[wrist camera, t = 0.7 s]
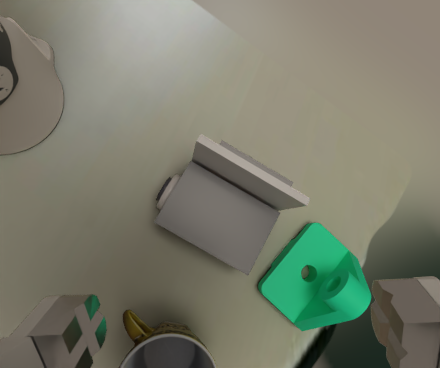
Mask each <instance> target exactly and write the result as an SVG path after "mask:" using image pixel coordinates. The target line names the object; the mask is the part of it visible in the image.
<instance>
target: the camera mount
mask: <svg viewBox="0 0 440 368" xmlns="http://www.w3.org/2000/svg"><path fill="white" fill-rule="evenodd" d="M306 265H307V266H308V268H309V275H308V276H307V277H306V278H305V279H303V278H302V276H301V271H302V269H303V267H304V266H306ZM271 266H272V267H271V269H270V270H269V271H268V272H267V274H266V275H265V276H264V277H263V278H262V280H261V281H260V282H259V285H258V289H259V291H260V293H261V294H262V295H263V296H264V297H266V298H267V299H268V300H269V301H270V302H271V303H272V304H273V305H274V306H275V307H276V308H277V309H278V310H279V311H281V312H282V313H283V314H284V315H285V316H286V317H287V318H288V319H289V320H290V321H291V322H292V323H293V324H294V325H296V326H297V327H298V328H299V329H300V330H301V331H305V330H309V329H314V328H318V327H323V326H327V325H331V324H336V323H340V322H344V321H348V320H353V319H355V318H357V317H359V316H360V315H361V314H362V313H363V312H364V311H365V310H366V309H367V307H368V305H369V303H370V300H371V293H370V290H369V288H368V285H367V283H366V280H365V277H364V275H363V272H362V269H361V267H360V264H359V261H358V259H357V258H356V257H355V256H354V255H353V254H352V253H351V252H350V251H349V250H348V249H347V248H346V247H345V246H344V245H343V244H341V243H340V242H339V241H338V240H337V239H336V238H335V237H334V236H333V235H332V234H331V233H330V232H329V231H328V230H326V229H325V228H324V227H323V226H322V225H321V224H319V223H309V224H307V225H306V226H305V227H304V229H303V230H302V231H301V232H300V233H299V235H298V236H297V237H296V238H295V239H292V240H291V241H290V242H289V244H288V245H287V246H286V247H285V248H284V250H283V251H282V252H281V253H280V255H279V256H278V257H277V258H276V259H275V261H274V262H273V263H272V264H271Z"/></svg>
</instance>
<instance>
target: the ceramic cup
mask: <svg viewBox="0 0 440 368" xmlns="http://www.w3.org/2000/svg"><path fill="white" fill-rule="evenodd" d="M123 322H124V326H125V329H126V331H127V333H128V335H129V337H130V338H131V339H132V340H133V341H134V343H135V346H134V347H133V348H132V349H131V351H130V352H129V353H128V354H127V355H126V357H125V358H124V360H123V361H122V363H121V365H120V366H119V368H217V365H216V363H215V360H214V359H213V357H212V355H211V353H210V352H209V351H208V349H207V348H206V346H205V345H204V344H203V343H202V342H201V341H200V339H199V338H198V337H197V336H196V335H194V334H193V333H192V332H191V331H190V329H189V328H188V327H187V326H186V325H185V324H179V323H173V322H167V321H164V322H163V323H161V324H160V325H158V326H157V327H156V328H151V327H149V326H147V325H146V324H145V323H144V322H143V321H142V320H141V319H140V318H139V317H138V316H137V315H136V314H135V313H134V312H132V311H131V310H126V311H125V312H124V313H123ZM142 330H143V331H144V332H143V331H142Z"/></svg>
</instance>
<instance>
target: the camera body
mask: <svg viewBox="0 0 440 368" xmlns="http://www.w3.org/2000/svg"><path fill="white" fill-rule="evenodd" d="M156 200H158V201H159V202H158V204H157V206H156V208H158V209H160V210H161V211H160V213H159V214H158V216H157V218H156V219H155V221H154V223H156V224H158V225H160V226H162V227H163V228H165V229H167V230H169V231H170V232H172V233H174V234H176V235H177V236H179V237H181V238H183V239H184V240H186V241H188V242H190V243H192V244H193V245H195V246H197V247H199V248H200V249H202V250H204V251H206V252H207V253H209V254H211V255H213V256H214V257H216V258H218V259H220V260H222V261H223V262H225V263H227V264H229V265H230V266H232V267H234V268H236V269H237V270H239V271H241V272H243V273H244V274H246V275H249V273H250V271H251V269H252V267H253V265H254V263H255V261H256V259H257V257H258V255H259V253H260V252H261V250H262V248H263V246H264V244H265V242H266V240H267V238H268V236H269V234H270V232H271V230H272V228H273V226H274V224H275V222H276V220H277V218H278V216H279V214H280V213H279V212H278V211H276V210H274V209H273V208H271V207H269V206H267V205H266V204H264V203H262V202H261V201H259V200H257V199H255V198H254V197H252V196H250V195H249V194H247V193H245V192H243V191H242V190H240V189H238V188H237V187H235V186H233V185H231V184H230V183H228V182H226V181H225V180H223V179H221V178H219V177H218V176H216V175H214V174H212V173H211V172H209V171H207V170H206V169H204V168H202V167H200V166H199V165H197V164H195V163H194V162H192V161H190V163H189V164H188V166H187V168H186V169H185V171H184V173H183V174H182V176H180V175H178V174H175V175H174V177H173V178H170V177H169V178H168V179H167V181H166V182H165V184H164V185H163V187H162V189H161V190H160V192H159V194H158V196H157V198H156Z"/></svg>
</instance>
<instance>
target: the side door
mask: <svg viewBox="0 0 440 368" xmlns="http://www.w3.org/2000/svg"><path fill="white" fill-rule="evenodd" d="M192 162H194V163H195V164H197V165H199V166H200V167H202V168H204V169H206V170H207V171H209V172H211V173H212V174H214V175H216V176H218V177H219V178H221V179H223V180H225V181H226V182H228V183H230V184H231V185H233V186H235V187H237V188H238V189H240V190H242V191H243V192H245V193H247V194H249V195H250V196H252V197H254V198H255V199H257V200H259V201H261V202H262V203H264V204H266V205H267V206H269V207H271V208H273V209H274V210H276V211H279V210H285V209H290V208H296V207H302V206H307V204H308V202H309V200H310V198H309V197H307V196H306V195H304V194H302V193H301V192H299V191H297V190H296V189H294V188H292V187H291V186H292V184H293V182H292V181H290V180H289V179H287V178H285V177H283V176H282V175H280V174H278V173H277V172H275V171H273V170H272V169H270V168H268V167H267V166H265V165H263V164H261V163H260V162H258V161H256V160H255V159H253V158H251V157H250V156H248V155H246V154H245V153H243V152H241V151H239V150H238V149H236V148H234V147H233V146H231V145H229V144H228V143H226V142H224V141H221V143H220V145H219V144H217V143H216V142H214V141H212V140H211V139H209V138H207V137H206V136H204V135H202V134H200V136H199V137H198V139H197V141H196V145H195V149H194V153H193V158H192Z"/></svg>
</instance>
